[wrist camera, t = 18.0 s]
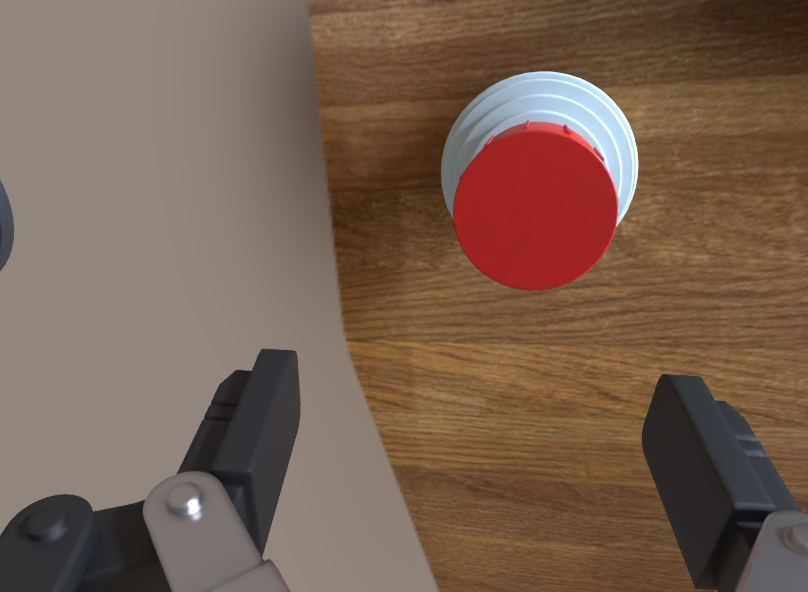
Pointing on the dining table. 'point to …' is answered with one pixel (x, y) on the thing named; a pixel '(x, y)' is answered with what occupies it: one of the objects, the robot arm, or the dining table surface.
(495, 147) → the cap
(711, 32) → the dining table surface
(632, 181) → the bottle
